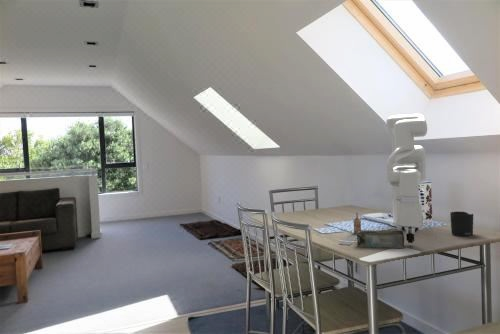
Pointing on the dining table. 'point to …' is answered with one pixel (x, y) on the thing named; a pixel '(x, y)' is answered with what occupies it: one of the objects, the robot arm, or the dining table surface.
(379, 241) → the beverage carton
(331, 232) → the dining table surface
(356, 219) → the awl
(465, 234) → the pen holder
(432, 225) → the dining table surface
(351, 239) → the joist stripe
